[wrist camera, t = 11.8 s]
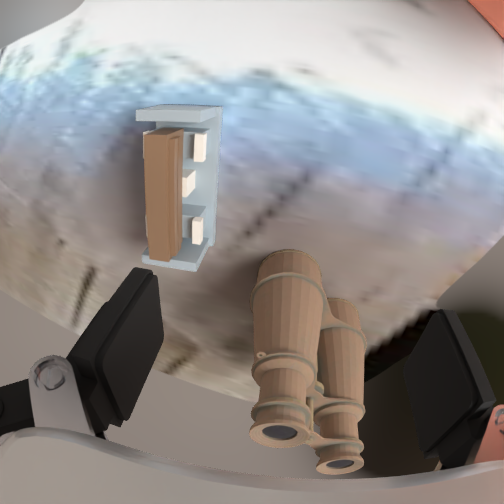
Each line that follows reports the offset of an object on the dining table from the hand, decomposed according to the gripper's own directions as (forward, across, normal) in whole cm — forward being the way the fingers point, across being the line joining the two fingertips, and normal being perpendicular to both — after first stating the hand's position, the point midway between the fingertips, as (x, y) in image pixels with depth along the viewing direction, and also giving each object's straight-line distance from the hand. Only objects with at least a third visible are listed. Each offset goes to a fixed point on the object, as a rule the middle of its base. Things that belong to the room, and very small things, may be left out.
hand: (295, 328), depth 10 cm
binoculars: (+31, -6, +22) cm, 38 cm away
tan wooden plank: (+25, +13, +5) cm, 29 cm away
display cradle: (+30, +13, +5) cm, 33 cm away
